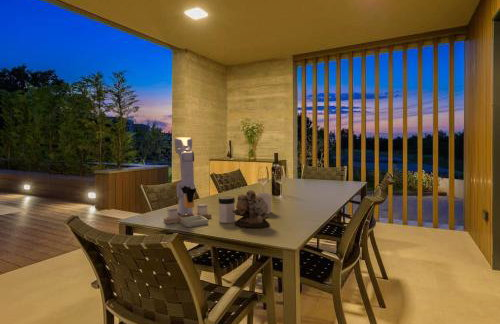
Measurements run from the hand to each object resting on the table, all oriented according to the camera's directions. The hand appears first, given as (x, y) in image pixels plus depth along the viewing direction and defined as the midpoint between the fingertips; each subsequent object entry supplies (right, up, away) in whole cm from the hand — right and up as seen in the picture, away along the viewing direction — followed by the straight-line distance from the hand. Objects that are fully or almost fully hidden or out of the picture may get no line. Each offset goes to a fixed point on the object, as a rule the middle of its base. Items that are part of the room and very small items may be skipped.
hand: (188, 201), depth 158 cm
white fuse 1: (-8, -10, -1) cm, 13 cm away
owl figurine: (+32, -10, -11) cm, 35 cm away
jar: (+20, -10, -1) cm, 22 cm away
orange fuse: (0, -3, 0) cm, 3 cm away
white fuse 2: (+6, -10, +7) cm, 13 cm away
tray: (+4, -10, -5) cm, 12 cm away
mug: (+37, -9, +16) cm, 42 cm away
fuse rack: (-1, -10, +3) cm, 10 cm away
